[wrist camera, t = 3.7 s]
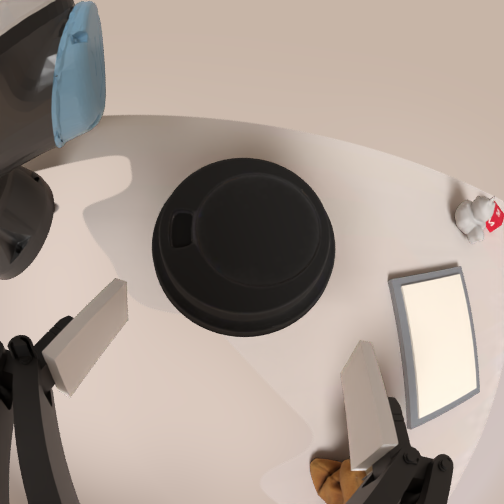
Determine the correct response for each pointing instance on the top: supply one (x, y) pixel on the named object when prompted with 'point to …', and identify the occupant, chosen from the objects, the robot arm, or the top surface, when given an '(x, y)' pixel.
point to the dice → (495, 219)
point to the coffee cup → (243, 247)
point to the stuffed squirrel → (336, 479)
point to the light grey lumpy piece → (474, 217)
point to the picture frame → (435, 342)
